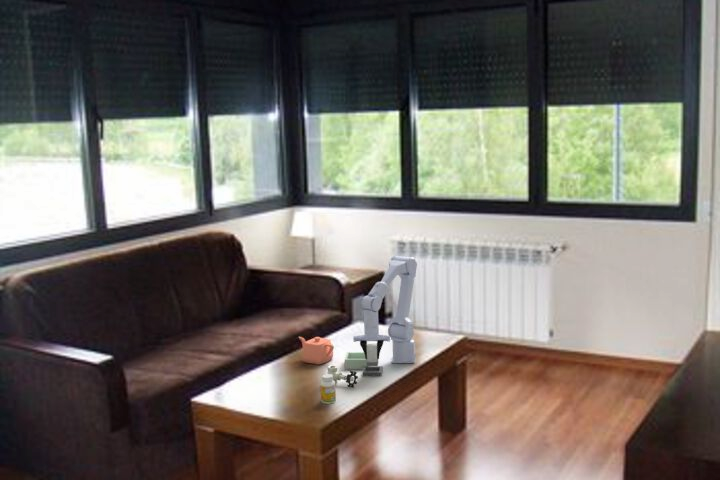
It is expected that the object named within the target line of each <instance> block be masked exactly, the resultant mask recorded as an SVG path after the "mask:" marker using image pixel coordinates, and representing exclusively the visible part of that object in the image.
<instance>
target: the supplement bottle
mask: <svg viewBox="0 0 720 480" xmlns="http://www.w3.org/2000/svg"><path fill="white" fill-rule="evenodd" d="M321 379H322V381H321V382H320V401H321V402H322V404H326V405H327V404H328V405H329V404H334V403H335V402H336V400H337V396H336V395H337V394H336V384H335V381H333V375H332V374H327V373H325V374H323V375H322V376H321Z"/></svg>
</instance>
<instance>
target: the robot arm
mask: <svg viewBox="0 0 720 480" xmlns="http://www.w3.org/2000/svg"><path fill="white" fill-rule="evenodd" d="M417 267H418V262H417V261H416V259H415V257H411V256H410V257H408V256H400V255H393V256H391V258H390V260H389V261H388V268H387V270H386V272H385V273H384V275H383V277H382V279H381V281H377V282H375V284H374V285H373V287H372V288H371V290H370V291H369V292H368V294H367V295H365V296H363V297H362V298H361V301H360V303H359V305H360V309H361V313H362V315H363V325H364V328H363V329H364V330H363V331H364V334H361V335H360V334H359V335H353V338H352V339H353V340H352V341H353V342H354V343H357V342H359V346H360V347H361V349H362V350H363V351H362V352H364V354H365V358H366V359H367V344H368V342H376V344H377V359H378V360H380V353H381V350H382V347H383V345H384V342H391V341H392V356H391V357H392V358H391V364H414V363H415V358H416V349H415V340H414V339H413V337H414V334H415V333H414V332H415V330H414V324H415V323H414V322H413V321H412V320H411V319H410V311H411V304H412V298H413V292H414V289H413V288H414V283H415V277H416V276H417V275H416V274H417ZM397 276H399V278H400V279H401V280H400V286H399V295H398V300H397V307H396V313H395V314H396V316H394V317H393V318H391V320H390V324H389V326H388V329H387V334H388V335H387V334H385V335H384V334H380V333H379V331H380V330H379V310H380V309H381V306H382V303H383V299H384V297H385V296H386V295H387V293H388V292H389V286H390V284H392V282H393V281H394V280H395V278H396V277H397Z"/></svg>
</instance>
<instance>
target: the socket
mask: <svg viewBox="0 0 720 480" xmlns="http://www.w3.org/2000/svg"><path fill="white" fill-rule="evenodd" d="M383 369H384V367H383V366H382V365H381V366H379V365H378V366H364V368H363V369H362V377H382V375H383Z"/></svg>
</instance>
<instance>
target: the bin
mask: <svg viewBox="0 0 720 480" xmlns="http://www.w3.org/2000/svg"><path fill="white" fill-rule="evenodd" d="M364 366H367V359H366V358H365V354H364V351H360V352H359V351H355V352H353V351H352V352H350V351H349V352H348V351H347V352H346V354H345V357H344V369H345V370H363V368H364Z"/></svg>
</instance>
